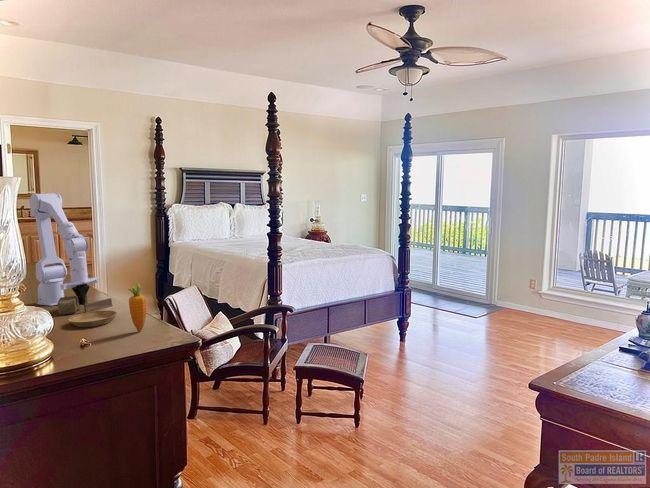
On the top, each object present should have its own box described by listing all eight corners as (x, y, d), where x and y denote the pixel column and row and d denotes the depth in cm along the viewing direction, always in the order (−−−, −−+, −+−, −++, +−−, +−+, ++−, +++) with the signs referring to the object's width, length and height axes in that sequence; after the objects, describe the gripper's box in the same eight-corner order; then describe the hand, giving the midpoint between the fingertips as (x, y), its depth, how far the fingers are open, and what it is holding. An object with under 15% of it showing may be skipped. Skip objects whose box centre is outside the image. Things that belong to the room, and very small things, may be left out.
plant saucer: (70, 332, 150) (69, 324, 150) (67, 322, 162) (66, 314, 162) (120, 324, 158) (120, 316, 157) (113, 315, 170) (113, 308, 170)
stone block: (58, 316, 170) (56, 302, 169) (61, 309, 180) (59, 296, 180) (76, 313, 172) (74, 299, 172) (78, 307, 183) (76, 294, 182)
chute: (60, 309, 180) (59, 301, 180) (86, 302, 190) (85, 295, 190) (86, 312, 174) (85, 304, 173) (112, 306, 183) (111, 298, 183)
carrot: (137, 334, 144) (134, 286, 142) (127, 332, 147) (123, 285, 145) (151, 330, 148) (148, 283, 146) (141, 328, 151) (137, 282, 149)
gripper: (67, 272, 170) (71, 310, 172) (102, 266, 183) (105, 301, 185) (55, 272, 173) (58, 308, 175) (90, 266, 186) (93, 299, 188)
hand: (82, 304), depth 180 cm, fingers closed
